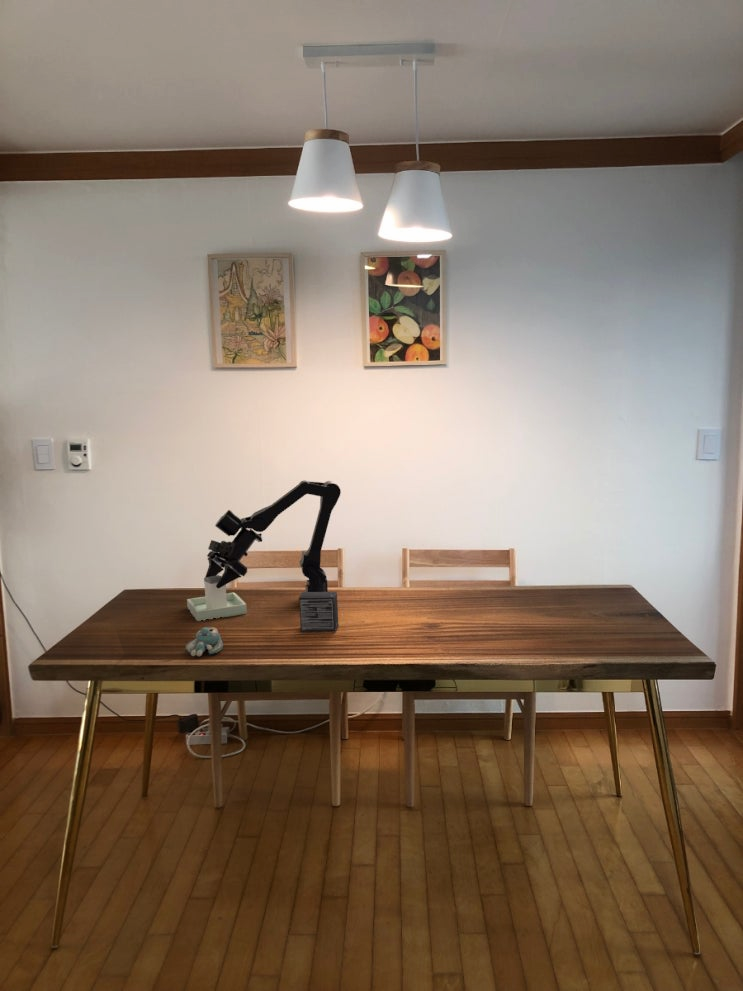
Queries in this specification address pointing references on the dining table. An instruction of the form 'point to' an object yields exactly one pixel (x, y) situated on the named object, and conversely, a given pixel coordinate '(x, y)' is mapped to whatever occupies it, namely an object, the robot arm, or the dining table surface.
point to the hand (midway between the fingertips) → (211, 584)
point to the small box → (318, 611)
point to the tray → (202, 613)
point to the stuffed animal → (205, 642)
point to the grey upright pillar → (214, 593)
